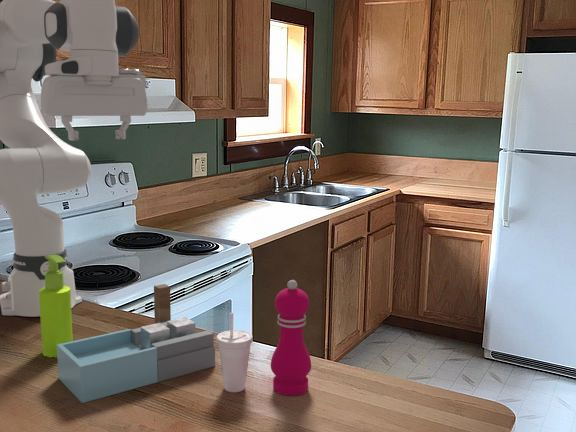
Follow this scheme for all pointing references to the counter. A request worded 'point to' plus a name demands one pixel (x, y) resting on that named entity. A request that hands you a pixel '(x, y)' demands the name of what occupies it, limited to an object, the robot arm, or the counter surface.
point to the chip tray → (105, 365)
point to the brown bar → (162, 303)
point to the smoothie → (234, 357)
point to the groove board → (181, 353)
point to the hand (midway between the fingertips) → (97, 139)
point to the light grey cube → (154, 334)
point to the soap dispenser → (55, 309)
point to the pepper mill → (291, 342)
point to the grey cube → (181, 327)
